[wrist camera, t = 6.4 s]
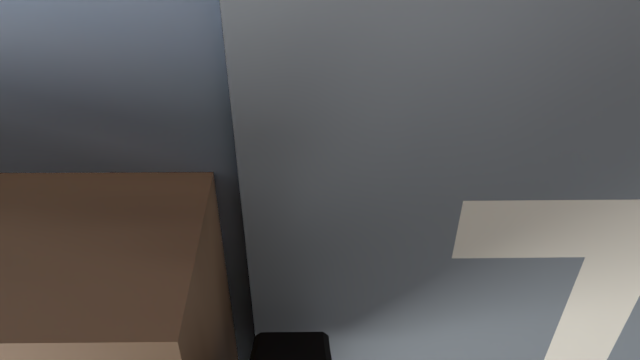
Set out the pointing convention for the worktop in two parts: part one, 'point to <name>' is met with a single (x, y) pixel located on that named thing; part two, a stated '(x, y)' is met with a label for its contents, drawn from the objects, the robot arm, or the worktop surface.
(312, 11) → the light gray board
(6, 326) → the walnut slab
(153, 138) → the worktop surface
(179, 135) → the worktop surface
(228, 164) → the worktop surface
